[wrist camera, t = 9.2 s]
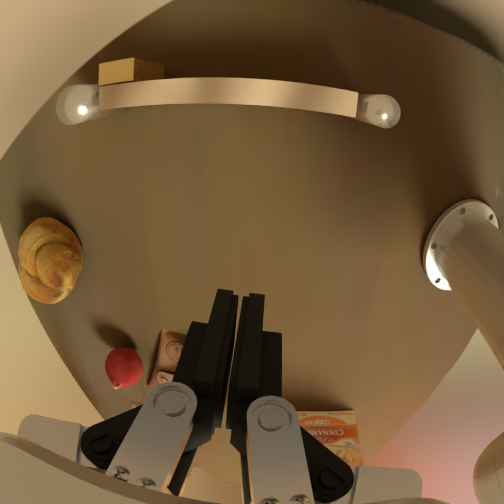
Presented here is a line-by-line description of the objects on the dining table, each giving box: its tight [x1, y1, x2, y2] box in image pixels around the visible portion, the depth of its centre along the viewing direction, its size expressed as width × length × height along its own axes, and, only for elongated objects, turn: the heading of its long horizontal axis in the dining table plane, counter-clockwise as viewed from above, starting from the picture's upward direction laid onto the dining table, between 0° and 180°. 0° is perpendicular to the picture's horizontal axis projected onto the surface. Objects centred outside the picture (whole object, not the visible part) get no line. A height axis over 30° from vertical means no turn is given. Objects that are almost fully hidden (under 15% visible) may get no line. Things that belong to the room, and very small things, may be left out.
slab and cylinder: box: [56, 58, 165, 125], centre depth 20 cm, size 7×5×8 cm
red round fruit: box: [105, 347, 143, 389], centre depth 37 cm, size 6×6×8 cm
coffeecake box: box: [296, 410, 363, 467], centre depth 41 cm, size 15×7×20 cm, turn 83°
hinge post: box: [346, 94, 401, 128], centre depth 20 cm, size 2×2×8 cm
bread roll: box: [18, 217, 83, 304], centre depth 29 cm, size 13×10×8 cm
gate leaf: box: [99, 77, 358, 118], centre depth 20 cm, size 18×2×7 cm, turn 86°
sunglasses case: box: [148, 329, 187, 389], centre depth 42 cm, size 18×7×7 cm
